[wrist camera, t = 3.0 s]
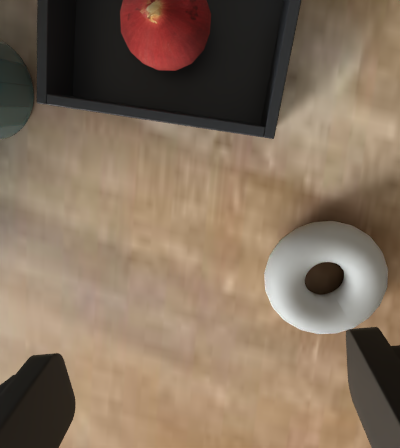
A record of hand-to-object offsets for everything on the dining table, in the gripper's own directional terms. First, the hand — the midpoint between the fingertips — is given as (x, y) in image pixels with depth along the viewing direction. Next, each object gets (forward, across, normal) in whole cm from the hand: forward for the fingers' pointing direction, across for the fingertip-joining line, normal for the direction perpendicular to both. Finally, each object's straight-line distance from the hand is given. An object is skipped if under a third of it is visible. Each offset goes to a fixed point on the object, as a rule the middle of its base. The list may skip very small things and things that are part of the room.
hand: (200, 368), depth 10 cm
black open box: (+22, +2, -13) cm, 26 cm away
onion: (+22, +2, -13) cm, 25 cm away
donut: (+22, -8, +8) cm, 25 cm away
